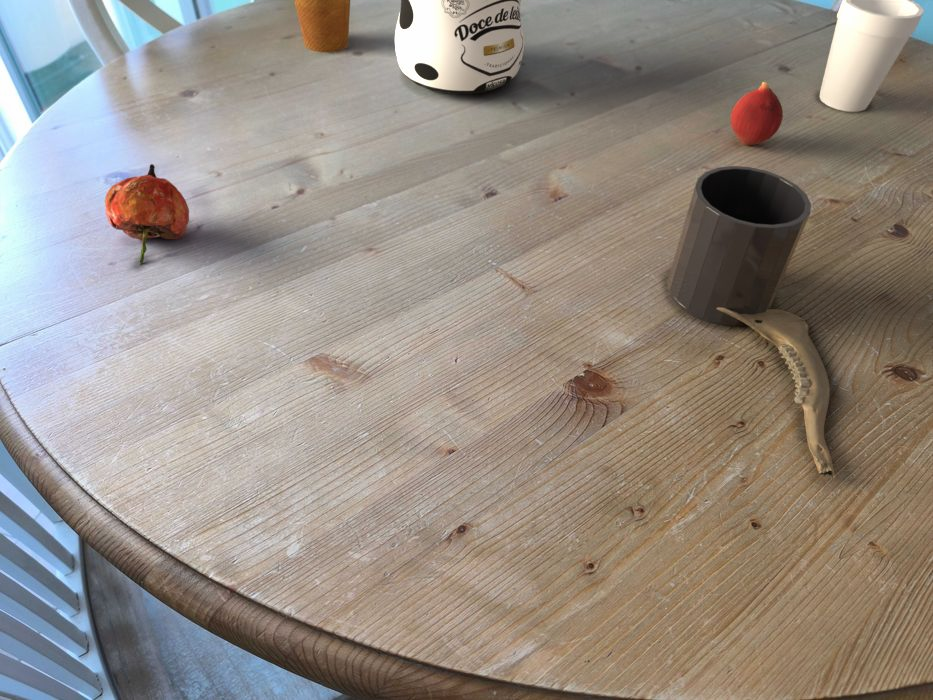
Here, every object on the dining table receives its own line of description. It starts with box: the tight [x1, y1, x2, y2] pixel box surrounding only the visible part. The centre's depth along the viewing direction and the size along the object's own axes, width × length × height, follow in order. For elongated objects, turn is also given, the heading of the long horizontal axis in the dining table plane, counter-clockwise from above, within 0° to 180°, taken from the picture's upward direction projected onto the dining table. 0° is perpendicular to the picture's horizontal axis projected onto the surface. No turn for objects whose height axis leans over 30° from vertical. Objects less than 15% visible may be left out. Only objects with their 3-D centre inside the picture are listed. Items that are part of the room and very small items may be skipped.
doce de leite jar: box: [394, 0, 525, 95], centre depth 98 cm, size 17×17×18 cm
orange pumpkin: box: [104, 163, 190, 266], centre depth 72 cm, size 7×7×10 cm
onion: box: [730, 81, 784, 147], centre depth 90 cm, size 6×6×8 cm
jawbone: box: [716, 307, 835, 480], centre depth 63 cm, size 9×20×2 cm, turn 15°
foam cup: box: [818, 0, 925, 113], centre depth 98 cm, size 10×9×13 cm
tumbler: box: [667, 165, 812, 327], centre depth 68 cm, size 10×10×11 cm
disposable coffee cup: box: [294, 0, 351, 53], centre depth 106 cm, size 10×10×12 cm
